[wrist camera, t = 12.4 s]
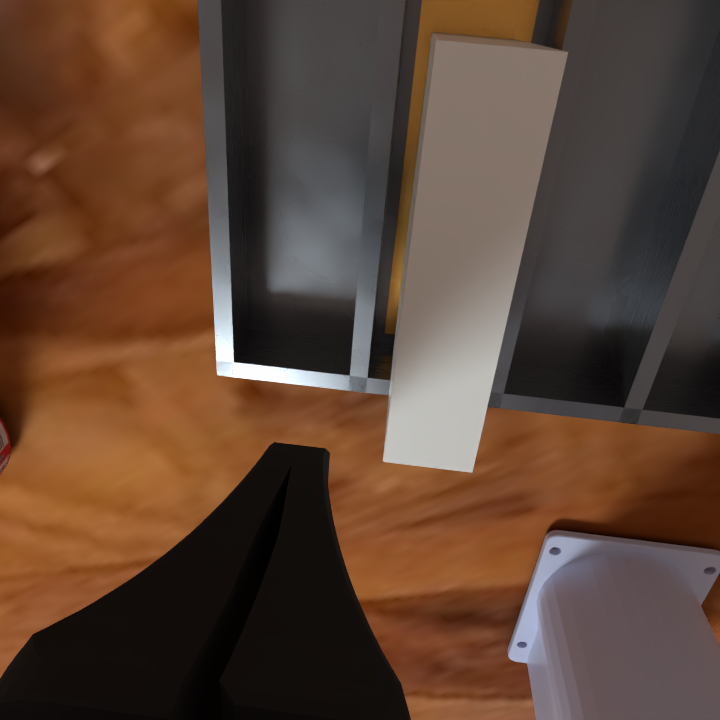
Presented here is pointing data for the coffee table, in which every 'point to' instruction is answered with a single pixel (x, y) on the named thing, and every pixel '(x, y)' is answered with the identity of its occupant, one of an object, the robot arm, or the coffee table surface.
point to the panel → (465, 238)
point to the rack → (395, 183)
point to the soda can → (4, 446)
